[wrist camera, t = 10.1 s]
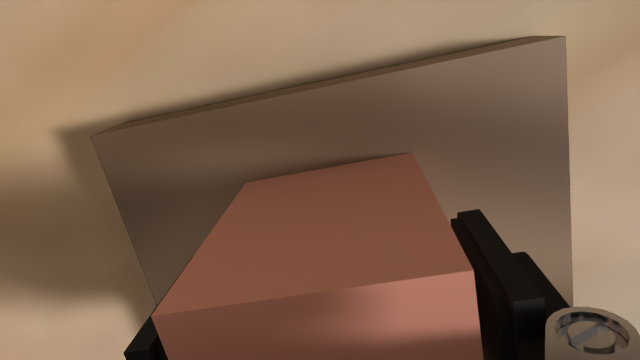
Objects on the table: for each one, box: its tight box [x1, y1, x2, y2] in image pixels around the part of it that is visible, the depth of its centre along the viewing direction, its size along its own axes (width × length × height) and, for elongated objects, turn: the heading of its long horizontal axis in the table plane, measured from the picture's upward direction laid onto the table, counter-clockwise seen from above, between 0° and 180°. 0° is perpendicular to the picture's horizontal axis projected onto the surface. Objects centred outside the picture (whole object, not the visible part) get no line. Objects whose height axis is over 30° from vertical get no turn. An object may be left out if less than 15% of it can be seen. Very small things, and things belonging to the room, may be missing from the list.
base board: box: [90, 36, 573, 307], centre depth 16 cm, size 18×14×2 cm
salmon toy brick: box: [151, 152, 483, 360], centre depth 10 cm, size 5×5×7 cm
